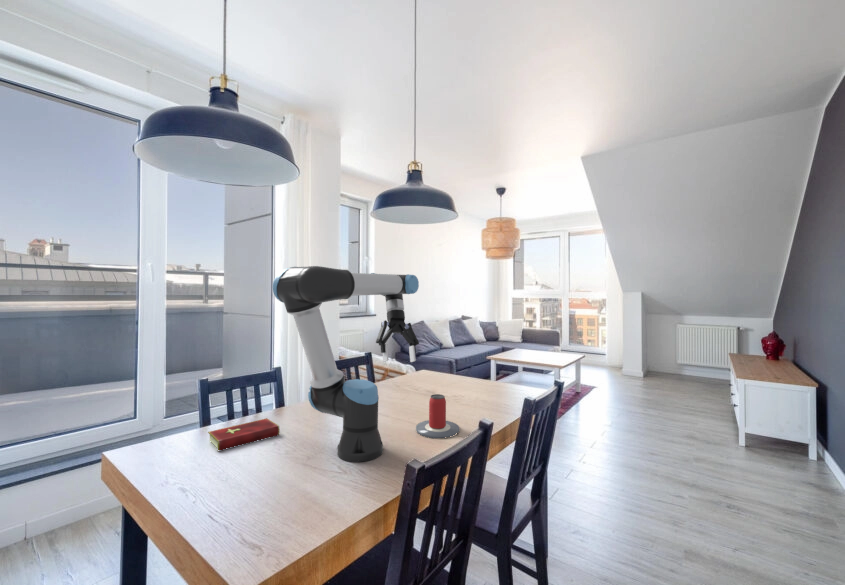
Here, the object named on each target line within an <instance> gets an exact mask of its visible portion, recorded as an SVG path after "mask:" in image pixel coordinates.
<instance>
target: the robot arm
mask: <svg viewBox="0 0 845 585" xmlns="http://www.w3.org/2000/svg"><path fill="white" fill-rule="evenodd" d="M419 286H420V284H419V278H418V277H417V276H416V275H414V274H395V273H394V274H392V273H389V274H388V273H374V272H371V273H365V272H364V273H362V272H351V271H350V270H348V269H341V268H340V269H338V268H333V267H326V266H321V265H320V266H318V265H312V266H291V267H290V266H289V267H287V268H284V269H282V270H280V271H279V272H278V273H277V274H276V275H275V277H274V279H273V282H272V292H273V295H274V297H275V299H277V300H278V301H279V302H281V303H283V304H284V307H285V309H286V310H285V311H286V312H287V313H288V314H289V315H291V316H292V317H293V319H294V322H295V325H296V328H297V331H298V332H297V333H298V334H299V337H300V341H301V344H302V347H303V349H304V354H305V357H306V360H307V363H308V366H309V369H310V372H311V375H312V379H311V381H310V384H309V385H310V387H309V388H308V389H309V391H308V394H307V396H308V401H309V404H310V406H311V407H312V408H313V409H314V410H316V411H318V412H319V413H323V414H328V415H331V416H335V417H339V418H342V433H341V435H340V438H339V439H340V440H339V442H338V444H337V448H336V450H337V452H336V454H337V457H338V458H339V459H341V460H343V461H347V462H351V463H352V462H353V463H361V462H368V461H372V460H375V459H377V458H378V457H380V456H381V455H382V454H383V452H384V448H383V447H384V443H383V441H382V437H381V434H380V432H379V398H380V397H379V389H378V386H377V385H376V383H374V382H373V381H370V380H367V379H360V378H354V379H348V380H346V378H345V375H344V372H343V371H342V370H340V369H338V366H337V364H336V361H335V356H334V354H333V353H334V352H333V351H332V347H331V344H330V340H329V338H328V334H327V330H326V326H325V324H324V320H323V316H322V313H321V310H320V308H321V306H322V305H323V303H327V302H333V301H341V300H347V299H350V298H351V297H355V296H356V297H357V296H358V297H359V296H379V295H380V296H383V297H385V306H386V308H385V309H386V319H387V320H386V319H385V320H383V321H381V324H380V325H381V326H380V329H379V332H378V335H377V337H376V340H375V343H376V344H378V346H380V353H382V362H383V363H384V362H388V361H389V360H390V359H389V349H388V344H387V342H388V340H389V339H390V337H391V336H392V334H398V335H399V334H400V335H402V337H403V339H404V340H405V341H406V342H407V343H408V345H409V346H408V349H409V350H408V351H409V352H408V353H409V361H410V363H414V362H416V360H417V359H416V354H417V351H416V349H417V348H416V346H417V345H420V341H419V339H418V338H417V335H416V334H415V331H414V330H413V328H412V323H411V322H408V323H406V322H405V319H406V315H405V314H406V313H405V304H404V297H403V295H411V294H412V295H413V294H416V293H417V292H418V291H419ZM387 327H388V330H387V331H386V329H387Z"/></svg>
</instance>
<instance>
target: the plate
mask: <svg viewBox="0 0 845 585" xmlns="http://www.w3.org/2000/svg"><path fill="white" fill-rule="evenodd" d="M416 431H417V432H416ZM415 432H416V433H417V434H418V435H419V434H420V435H419V436H421V435H422V436H421V437H424V436H425V437H424V438H428V437H429V438H428V439H434V438H444V439H446V438H445V437H450V436H453V435H455V434H456V433H458V432H459V433H460V425H458V424H457V423H456V422H453V421H450V420H446V426H445V427H444V428H443V429H433V428H431V427H430V426H429V419H427V420H424V421H420V422H419V423H418V424H416V426H415ZM459 433H458V434H459ZM453 437H454V436H453ZM450 438H451V437H450Z"/></svg>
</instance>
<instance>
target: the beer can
mask: <svg viewBox="0 0 845 585" xmlns="http://www.w3.org/2000/svg"><path fill="white" fill-rule="evenodd" d="M445 397H446V396H445V395H443V394H435V393H434V394H431V395H430V398H429V400H428V401H429V402H428V420H429V426H430V427H431V428H433V429H443V428H444V427H445V426H446V421H447V400H446V398H445Z"/></svg>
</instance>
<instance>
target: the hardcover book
mask: <svg viewBox="0 0 845 585" xmlns="http://www.w3.org/2000/svg"><path fill="white" fill-rule="evenodd" d="M280 432H281V430H280V425H279V424H278V423H276V422H274V421H272V420H270V419H269V418H268V417H265V418H262V419H259V420H258V419H257V420H254V421H249V422H244V423H240V424H236V425H232V426H227V427H223V428H219V429H214V430H211V431H208V432H207V433H208V434H209V442H210V441H211V442H212V443H213V444H214V445H215V446H216V447H217V448H218V450H222V451H224V450H223V449H226V448H229V449H231V448H230V447H233V448H235V447H234V446H237V447H239V446H238V445H241V446H243V445H242V444H244V445H247V444H246V443H248V444H251V443H250V442H252V443H255V442H254V441H256V442H258V441H257V440H259V441H262V440H261V439H263V440H266V439H265V438H267V439H270V438H269V437H271V438H274V437H278V436H280ZM277 435H278V436H277ZM273 436H274V437H273ZM211 442H210V443H211ZM212 443H211V444H212ZM213 444H212V445H213ZM214 445H213V446H214ZM215 446H214V447H215ZM216 447H215V448H216ZM217 448H216V449H217ZM218 450H217V451H218ZM226 450H227V449H226Z"/></svg>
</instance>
